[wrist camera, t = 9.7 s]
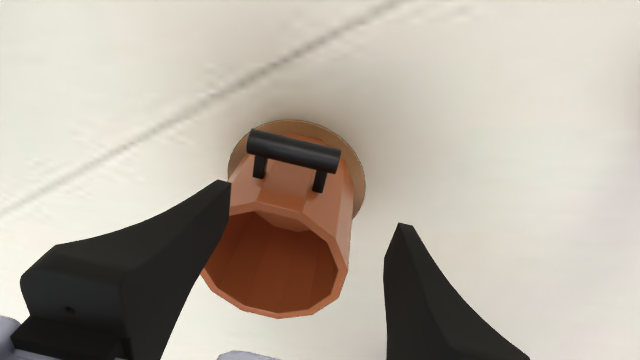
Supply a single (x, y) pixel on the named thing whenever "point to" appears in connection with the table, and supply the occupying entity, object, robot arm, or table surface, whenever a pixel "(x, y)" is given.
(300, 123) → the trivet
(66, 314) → the robot arm
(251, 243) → the pot
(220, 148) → the table surface
